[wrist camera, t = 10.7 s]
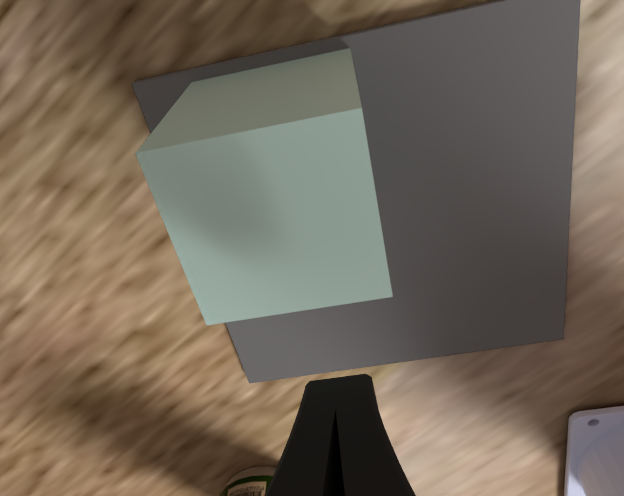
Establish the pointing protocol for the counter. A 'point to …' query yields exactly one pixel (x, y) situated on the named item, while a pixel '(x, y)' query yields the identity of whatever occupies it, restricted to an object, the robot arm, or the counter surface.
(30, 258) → the counter surface
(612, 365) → the counter surface
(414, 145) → the rubber mat
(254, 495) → the beer can
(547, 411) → the counter surface
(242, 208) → the pale green block
